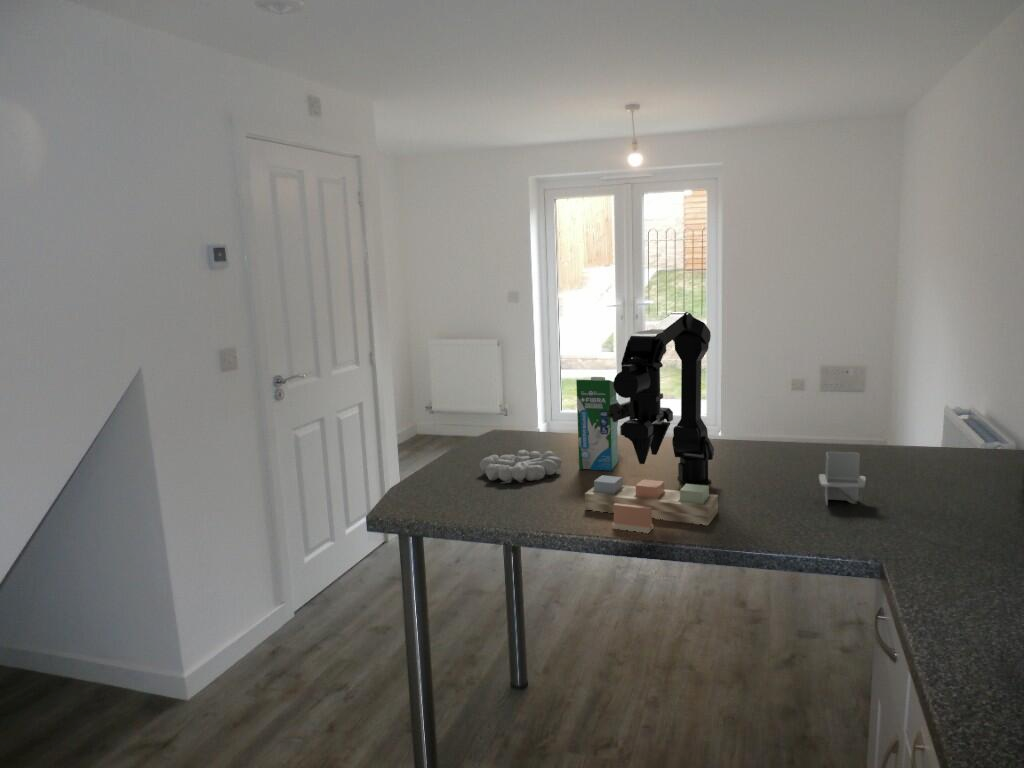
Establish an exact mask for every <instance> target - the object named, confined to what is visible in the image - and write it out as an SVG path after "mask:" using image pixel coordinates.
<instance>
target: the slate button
mask: <svg viewBox="0 0 1024 768" xmlns="http://www.w3.org/2000/svg"><path fill="white" fill-rule="evenodd" d="M622 485H623V477H622V476H613V475H602V474H601V476H599V477H598V478H596V479H594V481H593V487H594V492H597V493H606V494H615V495H616V494H617V493H618V492H620V491H621V490H622Z"/></svg>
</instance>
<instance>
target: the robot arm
mask: <svg viewBox="0 0 1024 768" xmlns="http://www.w3.org/2000/svg"><path fill="white" fill-rule="evenodd" d="M711 336H712V334H711V330H710V328H709V327H708V326H707V325H706V323H705V322H703V321H701V320H700V319H698V318H696V317H694V316H693V315H692V313H690V312H688V311H671V312H669V313H668V314H667V316H666V317H665V318H664V319H662V320H661V321H660V322H658V323H656V325H654V326H653V327H652V328H650V329H647V330H646V329H645V330H641V331H640V330H639V331H637V332H634V333H632V334H631V335H630V336H629V339H628V341H627V343H626V347H625V349H624V354H623V355H622V356H623V357H622V360H621V371H620V372H618V373H617V374H616V375H615V377H614V379H613V385H614V389H615V391H616V394H617V395H618V396H619V397H621V398H624V399H629V401H627V402H623V403H619V401H618V402H617V403H615V404H611V405H609V410H608V417H611V418H612V420H613V422H617V421H618V422H619V421H620V420H623V419H626V418H629V419H628V420H626V421H625V422H623V423H622V424H621V425H619V427H620V429H619V430H620V431H619V432H620V436H624V438H627V439H628V440H629V441H631V443H632V445H633V448H634V452H635V454H636V458H637V461H638V464H639V465H645V463H646V461H647V458H648V454H649V452H650V451H651V452H650V453H651V455H653V456H657V455H658V453H659V450H660V447H661V445H662V443H663V440H664V438H665V436H666V434H667V432H668V430H669V428H670V426H671V422H672V421H673V420H674V411H673V410H672V409H671V407H661V400H663V399H664V393H662V392H661V368H663V367H664V365H663V363H662V360H663V357H664V355H665V354H666V353H667V346H668V344H669V343H670V342H672V341H673V342H674V351H675V353H676V354H677V355H678V357H679V359H680V361H681V363H680V364H681V369H680V370H681V378H680V379H681V382H680V383H681V385H680V386H681V387H680V388H681V389H680V390H681V391H680V393H681V394H680V397H681V400H680V402H681V403H680V409H681V410H680V420H679V422H678V423H677V425H674V427H673V431H672V432H673V435H672V441H671V442H672V443H671V445H672V449H673V454H674V458H679V462H678V464H677V465H678V466H677V467H678V471H677V472H678V476H677V479H678V480H679V481H681V482H682V483H684V485H685V484H695V485H703V484H710V483H712V480H711V479H709V461H711V460H713V459H714V455H715V447H714V446H713V443H712V441H711V439H710V438H709V436H708V434H709V433H708V427H707V426H706V424H705V422H704V421H703V420H702V360H703V358H704V357H705V355H707V352H708V350H709V344H710V342H711ZM665 420H666V421H665Z"/></svg>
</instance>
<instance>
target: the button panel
mask: <svg viewBox="0 0 1024 768" xmlns="http://www.w3.org/2000/svg"><path fill="white" fill-rule="evenodd" d="M615 503H618V504H627V505H636V506H644V507H652V518H655V519H654V520H660V519H661V520H662V519H663V520H662V521H668V522H676V523H677V522H678V523H686V524H692V523H693V525H700V524H702V525H703V526H709V525H710V524H711V522H712V521H713V519H714V518H715V517H716V515H717V514H718V513H719V494H713V493H711V494H710V493H709V499H708V501H707V502H706V503H705V504H696V503H687V502H680V490H676V489H675V490H673V489H667V488H664V495H663V496H662V497H661V498H660V499H651V498H642V497H636V485H627V484H622V490H621V491H620V492H618V493H617V494H616V495H615V494H606V493H597V492H594V486H593V487H592V488H590V489H588V490H587V491H586V492H584V510H585V509H586V510H585V511H587V510H594V511H593V512H595V511H601V512H600V513H603V512H608V513H607V514H611V513H614V511H613V505H614V504H615Z"/></svg>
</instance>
